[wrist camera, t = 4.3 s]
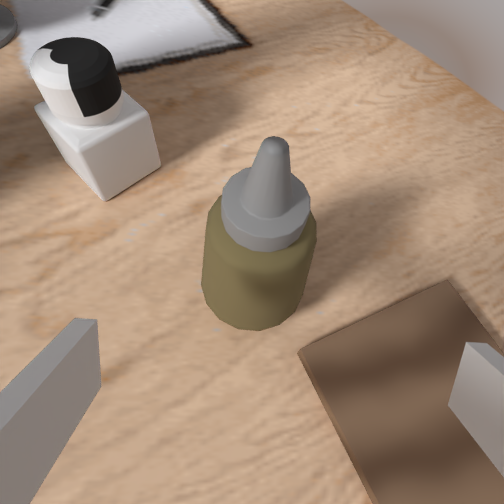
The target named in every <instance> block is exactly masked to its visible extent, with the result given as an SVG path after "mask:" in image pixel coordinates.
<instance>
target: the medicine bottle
mask: <svg viewBox="0 0 504 504" xmlns="http://www.w3.org/2000/svg"><path fill="white" fill-rule="evenodd" d="M29 69H30V74H31V76H32V78H33V79H34V81H35V83H36V85H37V87H38V89H39V90H40V92H41V94H42V96H43V98H44V99H45V101H43V102H41V103H39V104H37V105H35V107H34V109H35V111H36V113H37V115H38V116H39V118H40V120H41V121H42V123H43V125H44V126H45V128H46V130H47V131H48V133H49V135H50V136H51V138H52V140H53V141H54V143H55V145H56V146H57V148H58V150H59V151H60V153H61V155H62V156H63V158H64V160H65V161H66V163H67V164H68V165H69V166H70V167H71V168H72V169H73V170H74V171H75V172H76V173H77V174H78V175H79V176H80V177H81V178H82V179H83V181H84V182H85V183H86V184H87V185H88V186H89V187H90V188H91V189H92V190H93V191H94V192H95V193H96V194H97V195H98V196H99V197H100V198H101V200H103V201H107V200H109V199H111V198H112V197H114V196H115V195H117V194H118V193H120V192H122V191H123V190H125V189H126V188H128V187H130V186H131V185H133V184H134V183H136V182H137V181H139V180H141V179H142V178H144V177H145V176H147V175H148V174H150V173H152V172H153V171H155V170H156V169H158V168H159V167H161V161H160V157H159V153H158V149H157V145H156V141H155V137H154V133H153V129H152V125H151V121H150V117H149V113H148V112H147V111H146V110H145V109H144V108H143V107H142V106H141V105H139V104H138V103H137V102H136V101H135V100H134V99H133V98H131V97H130V96H129V95H128V94H127V93H126V92H124V91H123V90H122V87H121V84H120V80H119V77H118V74H117V71H116V67H115V64H114V61H113V58H112V55H111V53H110V52H109V51H108V49H106V48H105V47H104V46H102V45H101V44H100V43H98V42H96V41H93V40H90V39H86V38H79V37H71V38H63V39H58V40H55V41H52V42H50V43H47V44H46V45H44V46H42V47H41V48H40V49H38V50H37V51H36V52H35V54H34V55H33V57H32V59H31V62H30V67H29Z"/></svg>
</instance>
